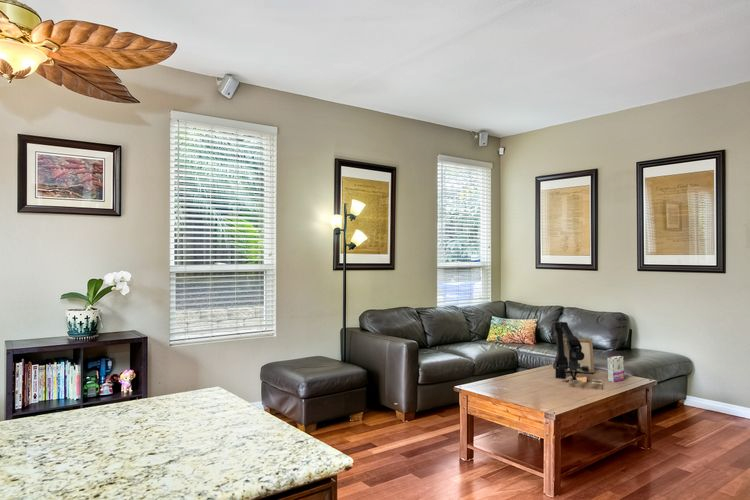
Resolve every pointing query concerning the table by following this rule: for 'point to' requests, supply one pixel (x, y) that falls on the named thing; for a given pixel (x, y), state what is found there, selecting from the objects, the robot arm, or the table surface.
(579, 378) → the block
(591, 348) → the photo frame
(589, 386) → the chute
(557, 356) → the robot arm
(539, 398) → the table surface
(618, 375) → the candy bar box
